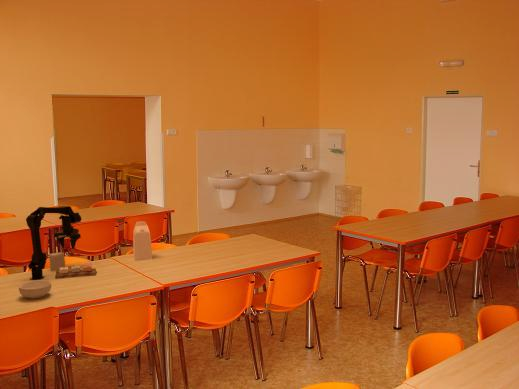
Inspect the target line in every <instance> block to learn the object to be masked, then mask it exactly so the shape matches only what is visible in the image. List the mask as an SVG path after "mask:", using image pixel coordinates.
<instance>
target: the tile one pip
mask: <svg viewBox="0 0 519 389" xmlns="http://www.w3.org/2000/svg"><path fill="white" fill-rule="evenodd" d="M58 271H59V272H60V274H62V273H68V271H69V266H65V267H62V268H60V269H59V270H58Z"/></svg>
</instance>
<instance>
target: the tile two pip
mask: <svg viewBox="0 0 519 389" xmlns="http://www.w3.org/2000/svg"><path fill="white" fill-rule="evenodd" d="M70 270H71V273H73V272H80V270H81V265H77V266H76V265H75V266H71V268H70Z"/></svg>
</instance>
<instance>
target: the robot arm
mask: <svg viewBox="0 0 519 389" xmlns="http://www.w3.org/2000/svg"><path fill="white" fill-rule="evenodd" d="M46 214H58V215H60V216H59V217H58V219H59V220H61V226H60V229H61V230H62V231H57V232H54V234H53V237H54V238H55V239H56V240H57V242H58V243H59V245H60V246H61V248H63V249H64V248H65V238H69V244H70V247H71V249H72V250H74V249H75V246H76V243H77V241H78V240H79V239H81V238H82V237H81V234H80V233H79V231H80V229H79V228H74V226H73V224H78V223H81V222H82V216H81V215H80V213H79V212H74V210H73V209H72V207H71V206H69V205H59V206H56V207H54V206H53V207H52V206H51V207H49V206H48V207H47V206H40V207H37V209H36V210H34V211H33V212H31V213H30V214H29V215H27V217H26V218H25V221H26V225H27V227H28V228H29V230H30V236H31V243H32V251H33V252H32V255H31V261H30V262H29V264H28V266H27V267H28V269H29V270H30V271H31V278H29V280H30V281H34V280H43V279H44V278H45V277H46V276H44V275H43V270H44V269H45V267H46V263H47V260H48V259H47V254H46V253H44V252H43V249H42V240H41V233H40V228H41V226H42V221H43V219H44V217H45V215H46Z"/></svg>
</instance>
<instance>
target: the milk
mask: <svg viewBox="0 0 519 389" xmlns="http://www.w3.org/2000/svg"><path fill="white" fill-rule="evenodd" d="M132 237H133V238H132V239H133V240H132V242H133V244H132V245H133V246H132V247H133V251H132V253H133V256H132V257H133V259H134V261H144V260H146V261H147V260H153V252H152V251H153V250H152V249H153V248H152V240H151V238H152V236H151V232H150V229H149V226H148V224H147V222H146V221H136V223H135V226H134V228H133V232H132Z"/></svg>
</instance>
